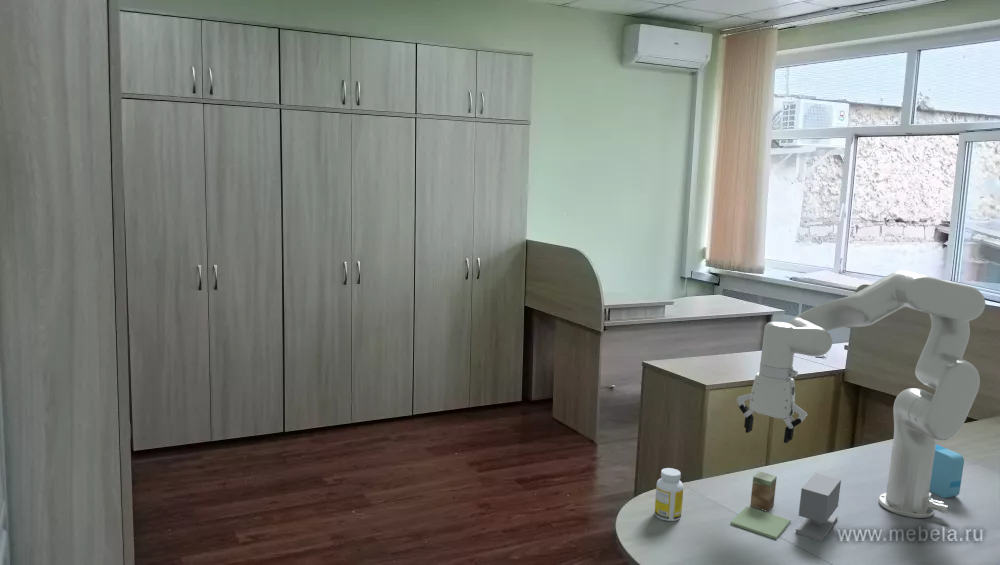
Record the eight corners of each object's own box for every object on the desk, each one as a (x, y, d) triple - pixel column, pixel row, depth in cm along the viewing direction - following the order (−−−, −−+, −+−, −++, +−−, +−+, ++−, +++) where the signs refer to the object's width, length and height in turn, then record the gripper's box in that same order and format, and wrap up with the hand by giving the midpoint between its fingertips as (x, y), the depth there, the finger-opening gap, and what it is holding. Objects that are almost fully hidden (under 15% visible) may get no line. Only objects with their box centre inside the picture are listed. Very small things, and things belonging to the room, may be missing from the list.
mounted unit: (837, 519, 183) (842, 478, 181) (821, 541, 172) (827, 497, 170) (811, 512, 187) (816, 471, 185) (795, 532, 176) (800, 489, 174)
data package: (959, 498, 198) (965, 456, 197) (947, 500, 197) (953, 457, 195) (920, 479, 210) (926, 439, 208) (908, 481, 208) (914, 441, 206)
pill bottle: (682, 512, 184) (685, 468, 182) (679, 524, 178) (683, 479, 176) (655, 507, 186) (659, 464, 184) (652, 519, 180) (656, 474, 178)
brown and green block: (773, 505, 190) (776, 476, 189) (767, 511, 186) (771, 481, 185) (756, 500, 193) (759, 471, 191) (750, 505, 189) (753, 476, 188)
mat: (790, 522, 181) (790, 520, 181) (776, 539, 172) (776, 537, 172) (746, 508, 187) (746, 506, 187) (730, 524, 179) (730, 521, 179)
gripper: (815, 376, 181) (807, 442, 184) (746, 361, 192) (739, 424, 194) (807, 382, 175) (798, 450, 178) (736, 366, 186) (728, 431, 189)
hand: (767, 436), depth 186 cm, fingers open, 9 cm apart
